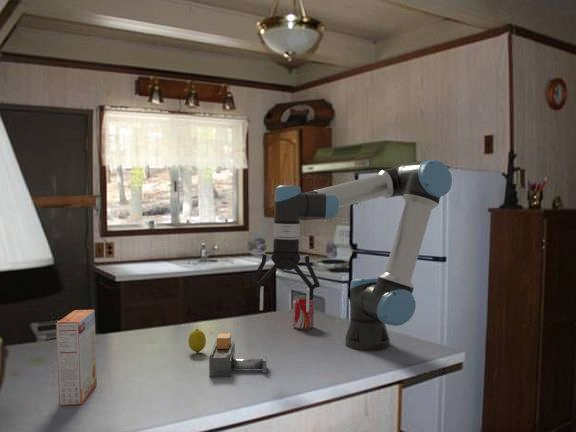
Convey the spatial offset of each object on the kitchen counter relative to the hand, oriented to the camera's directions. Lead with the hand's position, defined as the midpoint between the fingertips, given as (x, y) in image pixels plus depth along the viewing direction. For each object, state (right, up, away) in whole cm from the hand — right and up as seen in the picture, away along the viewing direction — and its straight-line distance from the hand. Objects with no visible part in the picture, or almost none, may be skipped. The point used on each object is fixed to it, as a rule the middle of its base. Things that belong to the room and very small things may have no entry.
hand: (284, 310), depth 156 cm
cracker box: (-53, -19, -19) cm, 59 cm away
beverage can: (+7, -16, +49) cm, 52 cm away
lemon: (-29, -17, +17) cm, 37 cm away
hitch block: (-18, -18, +1) cm, 25 cm away
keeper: (-18, -12, +5) cm, 22 cm away
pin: (-12, -17, 0) cm, 21 cm away
